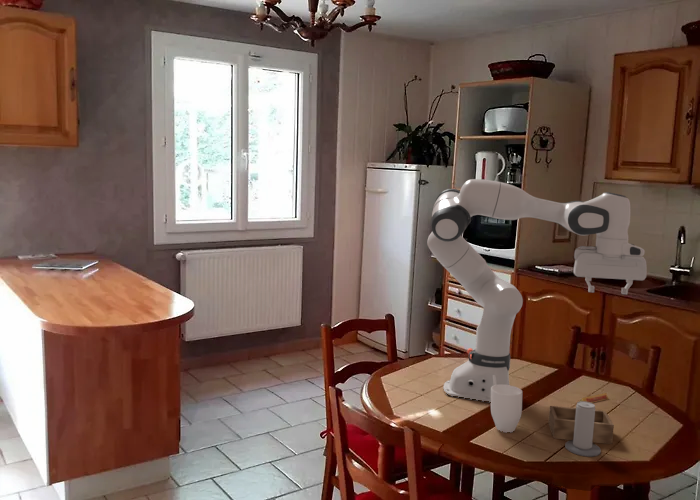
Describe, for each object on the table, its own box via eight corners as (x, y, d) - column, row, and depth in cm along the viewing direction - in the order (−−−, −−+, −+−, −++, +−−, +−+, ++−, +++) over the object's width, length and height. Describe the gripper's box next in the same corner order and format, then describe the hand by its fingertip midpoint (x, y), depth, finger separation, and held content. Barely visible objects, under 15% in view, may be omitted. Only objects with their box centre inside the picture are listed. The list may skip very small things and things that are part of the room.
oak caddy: (553, 438, 176) (555, 419, 176) (548, 423, 187) (549, 405, 186) (612, 444, 174) (613, 425, 173) (603, 428, 184) (605, 410, 183)
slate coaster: (568, 454, 166) (568, 452, 166) (562, 440, 175) (562, 438, 175) (603, 458, 165) (604, 456, 165) (596, 443, 174) (596, 441, 173)
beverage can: (593, 451, 167) (596, 408, 166) (574, 449, 168) (577, 406, 167) (590, 444, 172) (593, 402, 170) (571, 442, 173) (575, 400, 171)
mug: (520, 437, 176) (522, 396, 175) (488, 433, 179) (489, 392, 177) (521, 421, 187) (523, 382, 186) (491, 418, 190) (492, 379, 188)
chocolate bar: (578, 403, 205) (578, 396, 205) (602, 397, 211) (603, 391, 211) (584, 406, 203) (585, 399, 203) (609, 400, 209) (609, 393, 209)
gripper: (576, 246, 185) (573, 292, 187) (650, 250, 182) (646, 297, 183) (573, 244, 191) (569, 288, 193) (644, 247, 188) (640, 293, 190)
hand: (607, 293), depth 188 cm, fingers open, 8 cm apart
